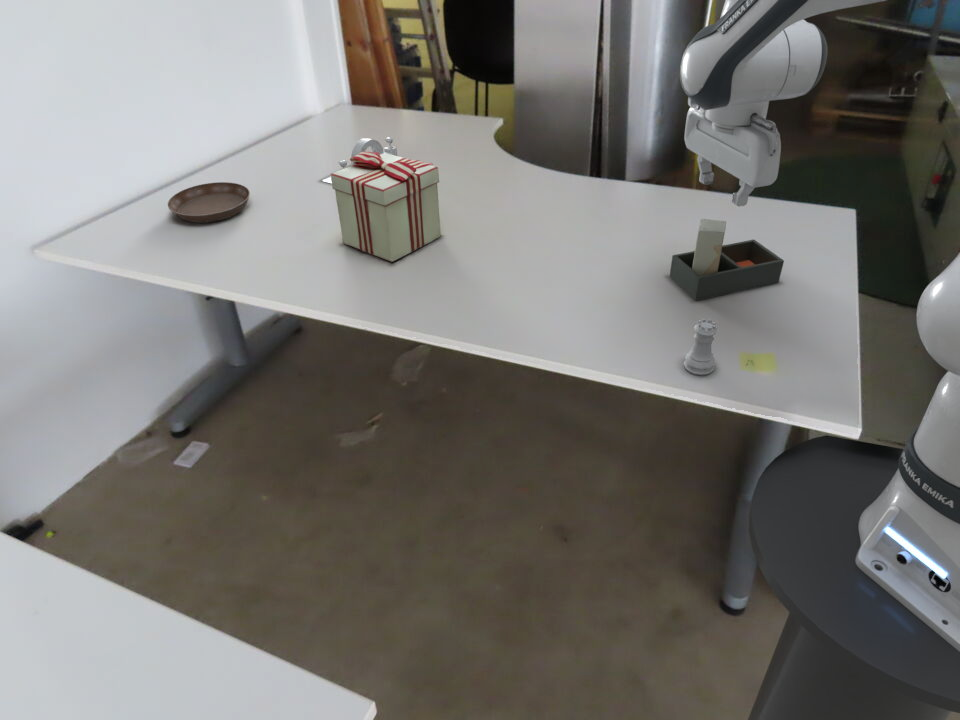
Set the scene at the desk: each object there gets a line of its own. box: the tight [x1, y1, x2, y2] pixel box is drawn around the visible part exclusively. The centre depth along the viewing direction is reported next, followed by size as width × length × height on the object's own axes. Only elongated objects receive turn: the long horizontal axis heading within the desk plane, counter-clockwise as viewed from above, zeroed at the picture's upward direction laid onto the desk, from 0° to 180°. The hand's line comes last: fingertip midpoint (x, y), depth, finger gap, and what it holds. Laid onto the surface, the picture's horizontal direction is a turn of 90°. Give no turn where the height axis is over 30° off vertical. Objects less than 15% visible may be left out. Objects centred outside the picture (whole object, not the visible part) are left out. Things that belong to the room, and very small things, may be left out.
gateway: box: [322, 136, 398, 185], centre depth 171 cm, size 20×2×8 cm, turn 147°
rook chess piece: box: [683, 318, 718, 376], centre depth 103 cm, size 4×4×8 cm
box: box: [692, 218, 727, 276], centre depth 121 cm, size 5×4×11 cm
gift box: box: [330, 151, 442, 263], centre depth 139 cm, size 17×18×17 cm
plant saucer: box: [167, 181, 251, 224], centre depth 157 cm, size 18×18×3 cm
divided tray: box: [669, 239, 785, 301], centre depth 124 cm, size 9×17×4 cm, turn 108°
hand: (721, 193), depth 112 cm, fingers open, 8 cm apart
